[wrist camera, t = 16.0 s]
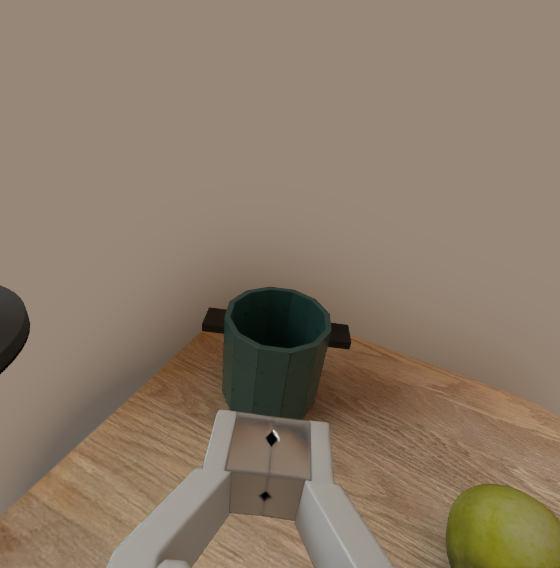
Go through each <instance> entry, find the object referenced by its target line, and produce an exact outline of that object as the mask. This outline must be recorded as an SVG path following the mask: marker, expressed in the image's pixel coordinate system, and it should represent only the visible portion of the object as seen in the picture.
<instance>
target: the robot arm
mask: <svg viewBox="0 0 560 568" xmlns="http://www.w3.org/2000/svg"><path fill="white" fill-rule="evenodd" d="M229 513H235V514H246V515H257V516H266V517H272V518H279V519H286V520H292V521H295V525H296V527H297V529H298V532H299V534H300V536H301V538H302V541H303V543H304V545H305V548H306V550H307V552H308V554H309V557H310V559H311V561H312V563H313V566H314V568H395V567H394V565H393V564H392V562H391V561H390V559H389V558H388V556H387V555H386V553H385V552H384V550H383V549H382V547H381V546H380V544H379V542H378V541H377V539H376V538H375V536H374V535H373V533H372V532H371V530H370V529H369V527H368V526H367V524H366V523H365V521H364V520H363V518H362V517H361V515H360V514H359V512H358V511H357V509H356V508H355V506H354V505H353V503H352V502H351V500H350V499H349V497H348V496H347V494H346V493H345V491H344V490H343V488H342V487H341V485H339V484H334V473H333V462H332V450H331V438H330V426H329V424H328V423H327V422H319V421H309V420H305V419H296V418H287V417H277V416H273V417H270V416H264V415H257V414H250V413H244V412H237V411H229V410H221V409H219V411H218V413H217V415H216V419H215V422H214V426H213V430H212V434H211V437H210V441H209V445H208V449H207V452H206V456H205V460H204V464H203V467H202V468H200V467H196V468H195V469H194V470H193V471H192V472H191V473H190V474H189V475H188V476H187V477H186V478H185V479H184V480H183V481H182V482H181V483H180V484H179V485H178V486H177V487H176V488H175V489H174V490H173V491H172V492H171V493H170V494H169V495H168V496H167V497H166V498H165V499H164V500H163V501H162V502H161V504H160V505H159V506H158V507H157V508H156V509H155V510H154V511H153V512H152V513H151V514H150V515H149V516H148V517H147V518H146V519H145V520H144V521H143V522H142V523H141V524H140V525H139V526H138V527H137V528H136V529H135V530H134V531H133V532H132V533H131V534H130V535H129V536H128V537H127V538H126V539H125V540H124V541H123V542H122V543H121V544H120V545H119V546H118V547H117V548H116V549H115V550H114V552H113V554H112V556H111V559H110V561H109V564H108V566H107V568H192V566H193V565H194V563H195V562H196V561H197V559H198V558H199V556H200V555H201V554H202V552H203V551H204V549H205V548H206V547H207V545H208V544H209V542H210V541H211V540H212V538H213V537H214V535H215V534H216V533H217V531H218V530H219V528H220V527H221V526H222V524H223V523H224V521H225V520H226V519H227V517H228V516H229Z"/></svg>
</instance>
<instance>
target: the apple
mask: <svg viewBox="0 0 560 568" xmlns="http://www.w3.org/2000/svg"><path fill="white" fill-rule="evenodd" d="M446 547H447V554H448V559H449V563H450V566H451V568H560V522H559V520H558V519H557V518H556V516H555V515H554V514H553V513H552V512H551V511H550V510H549V509H548V508H547V507H546V506H544V505H543V504H542V503H540V502H539V501H538V500H536V499H534V498H533V497H531V496H530V495H528V494H526V493H524V492H522V491H519V490H517V489H515V488H512V487H508V486H503V485H497V484H483V485H478V486H475V487H472V488H469V489H468V490H466V491H464V492H463V493H462V494H460V495H459V496H458V498H457V499H456V500H455V502H454V503H453V505H452V507H451V510H450V513H449V517H448V523H447V530H446Z"/></svg>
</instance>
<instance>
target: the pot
mask: <svg viewBox="0 0 560 568" xmlns="http://www.w3.org/2000/svg"><path fill="white" fill-rule="evenodd" d="M202 331H206V332H214V333H222V334H224V350H223V383H222V392H223V394H224V396H225V399H226V401H227V403H228V406H229V408H230V410H231V411H237V412H244V413H250V414H257V415H264V416H270V417H273V416H277V417H287V418H296V419H302V418H303V417H304V416H305V414H306V413H307V412H308V410H309V409H310V407H311V406H312V405H313V403H314V401H315V396H316V392H317V388H318V384H319V380H320V376H321V372H322V367H323V363H324V359H325V355H326V351H327V347H334V348H342V349H350V345H351V339H350V333H349V327H348V325H344V324H336V323H331V322H330V314H329V313H328V312H327V311H326V310H325V309H324V308H323V307H322V305H321V304H320V303H319V302H317V300H315V299H314V298H312V297H309V296H307V295H305V294H302V293H300V292H298V291H295V290H291V289H283V288H276V287H265V288H259V289H254V290H248V291H245V292H244V293H242V294H241V295H239V296H238V297H236V298H234V299H233V300H231V301H230V302H229V305H228V308H227V310H225V309H217V308H209V309H208V311H207V314H206V316H205V318H204V321H203V323H202Z"/></svg>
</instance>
